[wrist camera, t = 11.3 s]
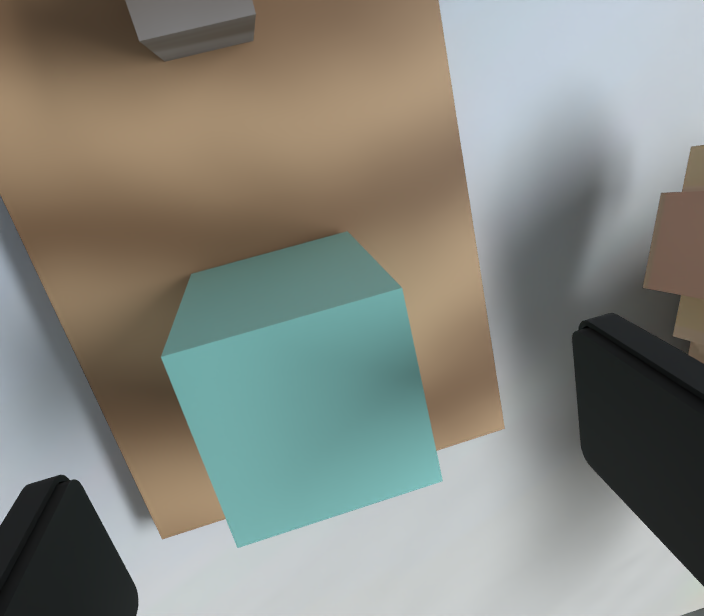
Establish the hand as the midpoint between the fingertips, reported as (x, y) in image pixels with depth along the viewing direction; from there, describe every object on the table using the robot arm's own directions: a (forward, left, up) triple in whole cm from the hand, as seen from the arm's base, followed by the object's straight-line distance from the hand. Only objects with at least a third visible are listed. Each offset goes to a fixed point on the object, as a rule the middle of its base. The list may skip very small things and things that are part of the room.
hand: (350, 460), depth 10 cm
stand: (-4, -1, -10) cm, 11 cm away
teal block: (0, -1, -9) cm, 9 cm away
